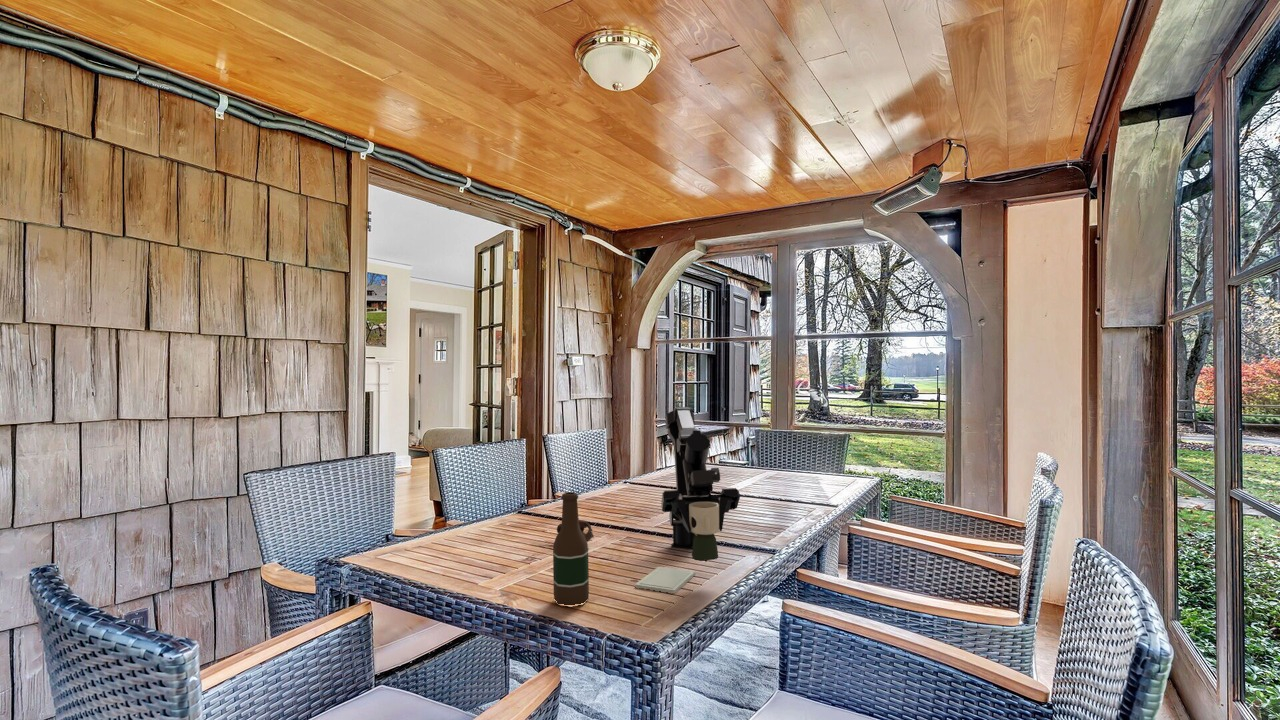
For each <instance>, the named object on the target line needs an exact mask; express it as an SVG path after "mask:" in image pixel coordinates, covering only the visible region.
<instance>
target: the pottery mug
mask: <svg viewBox="0 0 1280 720" xmlns="http://www.w3.org/2000/svg"><path fill="white" fill-rule="evenodd" d="M561 524H562V523H560V524H558V525H557V526H556V532H557V534H558V533H559V532H560V530H561ZM579 526H580V530H581V531H582V533H583V534H584V535H585V538H586V540H587V542H590V541H591V539H592V538H594V537H595V536H594V534H593V528H592V526H591V524H590V523H589V522H588V521H585V520H581V519H579ZM586 528H588V530H587V532H586V533H585V529H586Z"/></svg>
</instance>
